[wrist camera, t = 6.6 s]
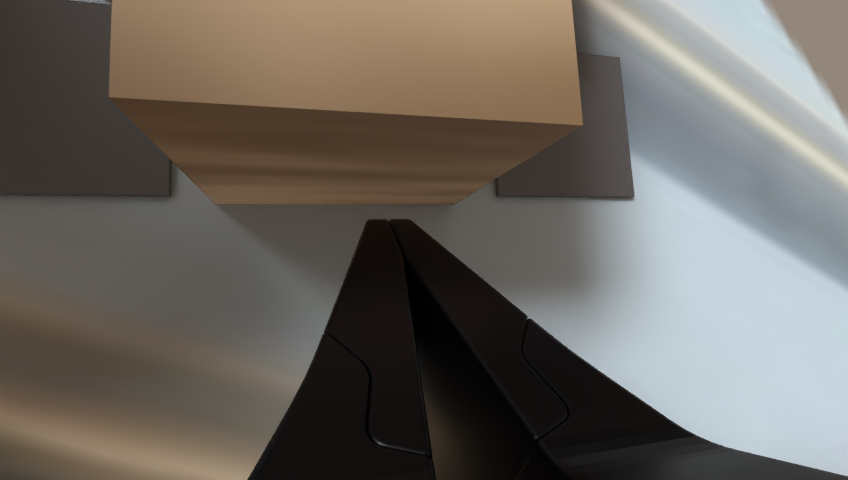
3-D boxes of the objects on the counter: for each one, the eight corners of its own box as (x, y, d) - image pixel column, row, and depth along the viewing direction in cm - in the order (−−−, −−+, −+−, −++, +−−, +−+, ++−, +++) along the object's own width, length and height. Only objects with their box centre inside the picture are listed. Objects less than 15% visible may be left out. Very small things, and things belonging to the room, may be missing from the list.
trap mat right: (630, 197, 18) (634, 196, 18) (496, 196, 16) (499, 195, 16) (616, 60, 19) (619, 57, 19) (486, 46, 17) (488, 43, 17)
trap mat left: (170, 195, 14) (168, 194, 13) (-75, 194, 12) (-81, 192, 12) (172, 15, 14) (171, 11, 14) (-59, -9, 13) (-65, -14, 12)
